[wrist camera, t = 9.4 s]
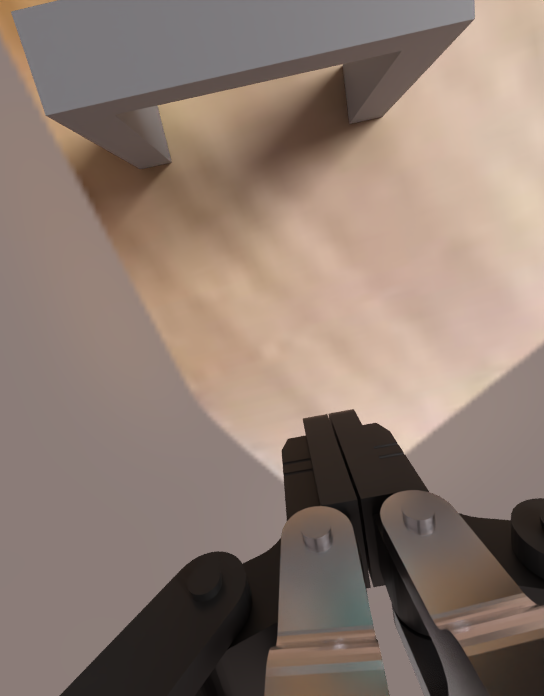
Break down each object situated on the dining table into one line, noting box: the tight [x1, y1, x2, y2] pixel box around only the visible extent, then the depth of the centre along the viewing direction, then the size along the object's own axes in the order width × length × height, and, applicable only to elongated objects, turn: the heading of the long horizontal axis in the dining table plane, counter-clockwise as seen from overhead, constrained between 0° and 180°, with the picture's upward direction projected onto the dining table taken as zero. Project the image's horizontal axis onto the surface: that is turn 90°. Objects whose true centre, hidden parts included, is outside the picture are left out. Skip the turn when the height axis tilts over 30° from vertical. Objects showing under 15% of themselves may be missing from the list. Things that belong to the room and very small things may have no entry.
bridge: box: [11, 0, 475, 169], centre depth 16 cm, size 3×15×10 cm, turn 101°
